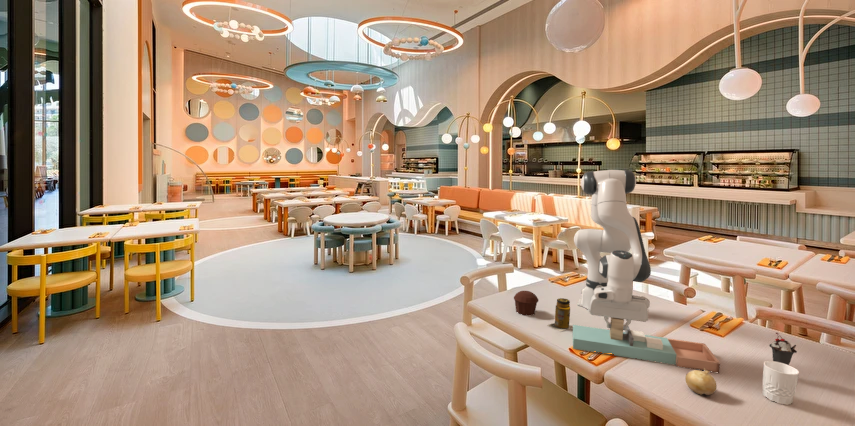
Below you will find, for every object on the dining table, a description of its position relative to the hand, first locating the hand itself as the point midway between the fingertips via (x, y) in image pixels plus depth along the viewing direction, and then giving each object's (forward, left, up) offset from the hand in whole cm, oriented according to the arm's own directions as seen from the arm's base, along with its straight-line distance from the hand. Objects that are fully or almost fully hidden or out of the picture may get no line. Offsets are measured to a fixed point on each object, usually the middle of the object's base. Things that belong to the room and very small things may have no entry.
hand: (616, 328), depth 149 cm
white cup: (+19, +43, -8) cm, 47 cm away
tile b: (+2, +12, -4) cm, 13 cm away
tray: (0, +25, -8) cm, 26 cm away
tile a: (-2, +7, -4) cm, 9 cm away
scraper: (0, +2, -4) cm, 4 cm away
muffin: (-25, -36, -8) cm, 45 cm away
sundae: (+3, +50, -8) cm, 50 cm away
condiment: (-13, -20, -8) cm, 25 cm away
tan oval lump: (+23, +22, -8) cm, 33 cm away
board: (0, +2, -8) cm, 8 cm away
